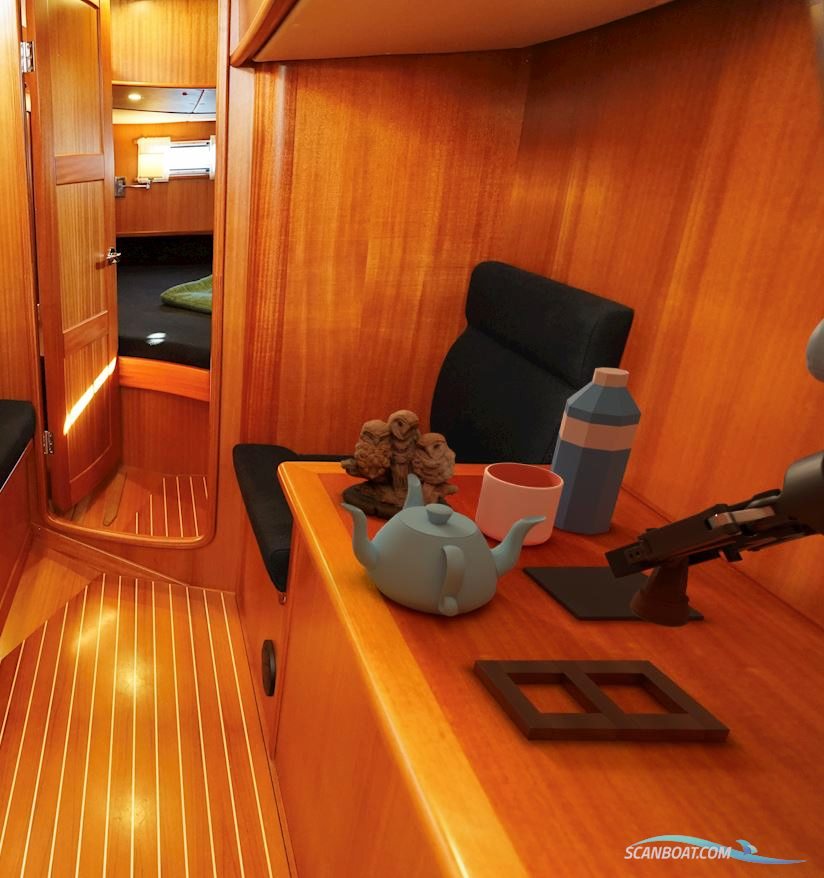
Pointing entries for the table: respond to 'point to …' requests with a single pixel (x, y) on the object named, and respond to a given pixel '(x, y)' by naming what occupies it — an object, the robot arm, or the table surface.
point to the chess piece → (664, 595)
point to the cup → (518, 500)
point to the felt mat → (593, 591)
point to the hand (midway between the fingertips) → (634, 563)
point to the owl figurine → (398, 465)
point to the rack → (598, 701)
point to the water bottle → (594, 451)
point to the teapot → (435, 555)
